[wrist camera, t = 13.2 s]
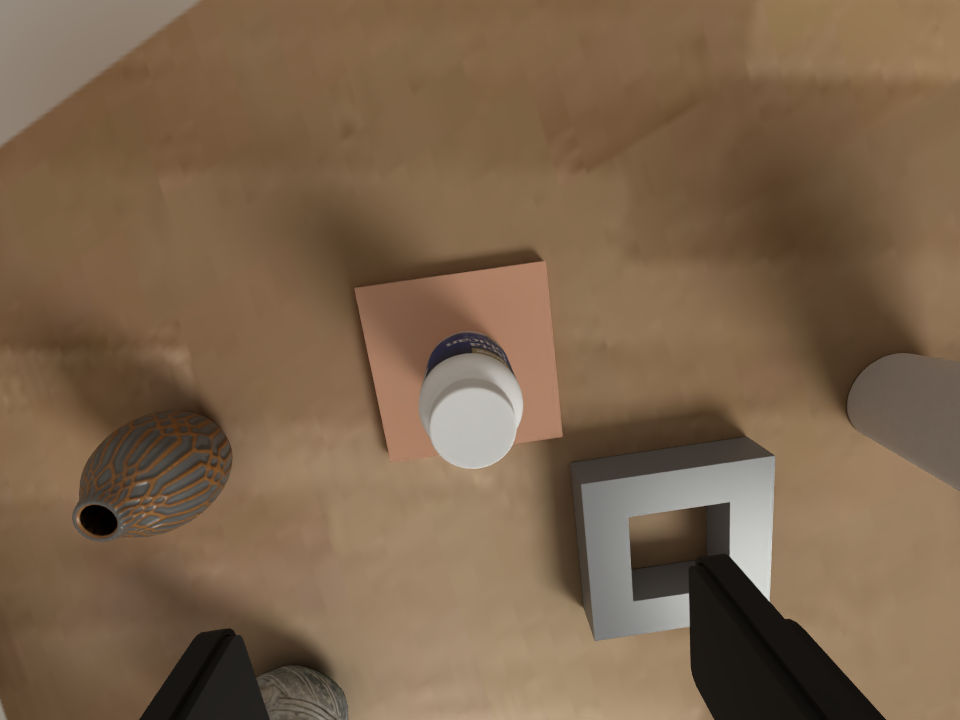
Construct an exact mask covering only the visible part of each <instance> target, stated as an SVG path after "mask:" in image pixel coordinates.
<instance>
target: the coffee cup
mask: <svg viewBox="0 0 960 720" xmlns="http://www.w3.org/2000/svg"><path fill="white" fill-rule="evenodd" d="M847 412H848V416H849V419H850V421H851V423H852V425H853V426H854V427H855V428H856V429H857V430H858V431H859V432H860V433H862V434H863V435H865V436H867V437H869V438H870V439H872V440H874V441H875V442H877V443H879V444H880V445H882V446H884V447H886V448H887V449H889V450H891V451H892V452H894V453H896V454H897V455H899V456H901V457H903V458H904V459H906V460H908V461H909V462H911V463H913V464H914V465H916V466H918V467H920V468H921V469H923V470H925V471H926V472H928V473H930V474H931V475H933V476H935V477H937V478H938V479H940V480H942V481H943V482H945V483H947V484H948V485H950V486H952V487H953V488H955V489H957V490H959V491H960V361H953V360H947V359H941V358H935V357H929V356H922V355H916V354H910V353H896V354H891V355H888V356H885V357H882V358H880V359H878V360H876V361H875V362H873V363H872V364H870V365H869V366H868V367H867V368H865V369H864V370H863V371H862V372H861V374H860V375H859V376H858V377H857V379H856V380H855V382H854V383H853V385H852V387H851V390H850V392H849V395H848V400H847Z"/></svg>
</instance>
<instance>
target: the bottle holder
mask: <svg viewBox="0 0 960 720" xmlns="http://www.w3.org/2000/svg"><path fill="white" fill-rule="evenodd" d="M570 467H571V478H572V488H573V499H574V510H575V520H576V531H577V542H578V552H579V563H580V574H581V585H582V595H583V606H584V611H585V614H586V617H587V620H588V623H589V625H590V628H591V631H592V634H593V637H594V640H595V641H598V640H605V639H611V638H618V637H625V636H631V635H638V634H644V633H651V632H658V631H664V630H671V629H677V628H684V627H690V615H689V574H688V572H689V567H690V566H695V561H696V560H694V561H687V562H680V563H674V564H667V565H660V566H654V567H647V568H640V569H634V570H631V555H630V538H629V520H628V517H633V516H640V515H646V514H653V513H660V512H666V511H673V510H680V509H687V508H693V507H700V506H707V556H710V555H717V554H723V553H725V554H727V555H728V556H729V557H731V558H732V560H733V561H734V562H735V563H736V564H737V565H738V566H739V567H740V569H741V570H742V571H743V572H744V573H745V574H746V575H747V577H748V578H749V579H750V580H751V581H752V582H753V583H754V585H755V586H756V587H757V588H758V589H759V590H760V591H761V593H762V594H763V595H764V596H765V597H766V598H767V599H768V600H769V602H770V577H771V552H772V526H773V501H774V475H775V455H773V454H772V453H770V452H769V451H767V450H766V449H765V448H763V447H762V446H760V445H759V444H757V443H756V442H754V441H753V440H751V439H750V438H748V437H741V438H734V439H728V440H721V441H714V442H707V443H700V444H694V445H687V446H680V447H673V448H666V449H660V450H653V451H646V452H639V453H632V454H626V455H619V456H612V457H605V458H599V459H592V460H585V461H578V462H571V463H570Z"/></svg>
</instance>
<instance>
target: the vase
mask: <svg viewBox="0 0 960 720" xmlns="http://www.w3.org/2000/svg"><path fill="white" fill-rule="evenodd" d="M231 467H232V449H231V446H230V443H229V441H228V439H227V437H226V435H225V433H224V432H223V431H222V430H221V428H220V427H219V426H218V425H216V424H215V423H214V422H213V421H211V420H209V419H208V418H206V417H204V416H202V415H199V414H196V413H193V412H188V411H163V412H157V413H153V414H149V415H146V416H143V417H140V418H138V419H136V420H133V421H131V422H129V423H127V424H126V425H124V426H122V427H120V428H119V429H117V430H116V431H114V432H113V433H112V434H111V435H109V436H108V437H107V438H106V439H105V440H104V441H103V442H102V443H101V444H100V445H99V446H98V447H97V448H96V450H95V451H94V452H93V453H92V455H91V456H90V458H89V459H88V461H87V463H86V465H85V467H84V469H83V472H82V476H81V480H80V490H79V501H78V503H77V505H76V507H75V509H74V511H73V515H72V520H73V524H74V526H75V528H76V529H77V530H78V532H79V533H80V534H82V535H83V536H84V537H86V538H88V539H90V540H94V541H99V542H105V541H110V540H114V539H117V538H120V537H148V536H154V535H159V534H163V533H166V532H169V531H171V530H174V529H176V528H178V527H180V526H182V525H184V524H186V523H188V522H190V521H191V520H193V519H194V518H196V517H197V516H199V515H200V514H201V513H202V512H204V511H205V510H206V509H207V508H208V507H209V506H210V505H211V504H212V503H213V501H214V500H215V499H216V498H217V497H218V495H219V494H220V493H221V491H222V490H223V488H224V486H225V484H226V482H227V480H228V478H229V475H230V471H231Z"/></svg>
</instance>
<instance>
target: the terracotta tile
mask: <svg viewBox="0 0 960 720" xmlns="http://www.w3.org/2000/svg"><path fill="white" fill-rule="evenodd" d="M354 289H355V294H356V299H357V304H358V309H359V313H360V318H361V323H362V328H363V332H364V337H365V342H366V347H367V352H368V356H369V361H370V366H371V371H372V375H373V380H374V385H375V390H376V394H377V399H378V404H379V409H380V414H381V418H382V423H383V428H384V433H385V437H386V442H387V447H388V452H389V456H390V461H391V462H395V461H401V460H408V459H415V458H422V457H429V456H436V455H439V454H438V452H437V451H436V450H435V448H434V446H433V444H432V442H431V440H430V437H429V435H428V434H427V433H426V431H425V429H424V427H423V425H422V423H421V420H420V415H419V396H420V391H421V387H422V383H423V379H424V375H425V371H426V367H427V363H428V360H429V357H430V355H431V353H432V351H433V350H434V348H435V347H436V346H437V344H438V343H439V342H440V341H442V340H443V339H444V338H446V337H448V336H449V335H452V334H454V333H458V332H462V331H475V332H479V333H483V334H485V335H487V336H489V337H491V338H493V339H494V340H495V341H496V342H497V343H498V344H499V345H500V346H501V347H502V349H503V350H504V352H505V353H506V355H507V357H508V360H509V362H510V365H511V367H512V370H513V372H514V374H515V377H516V379H517V381H518V383H519V386H520V389H521V392H522V397H523V413H522V417H521V421H520V423H519V426H518V428H517V431H516V437H515V440H514V442H513V444H517V443H524V442H531V441H538V440H545V439H551V438H558V437H563V434H562V424H561V414H560V403H559V393H558V383H557V372H556V362H555V352H554V341H553V331H552V321H551V310H550V300H549V290H548V279H547V269H546V261H544V260H543V261H536V262H529V263H522V264H515V265H508V266H501V267H494V268H487V269H480V270H473V271H466V272H459V273H452V274H445V275H438V276H431V277H424V278H417V279H410V280H403V281H396V282H389V283H382V284H375V285H368V286H361V287H356V288H354Z"/></svg>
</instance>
